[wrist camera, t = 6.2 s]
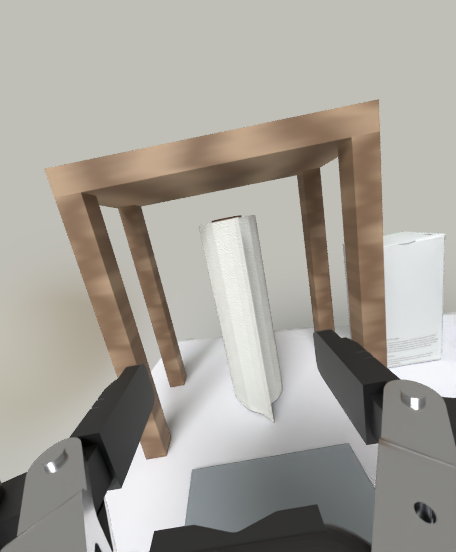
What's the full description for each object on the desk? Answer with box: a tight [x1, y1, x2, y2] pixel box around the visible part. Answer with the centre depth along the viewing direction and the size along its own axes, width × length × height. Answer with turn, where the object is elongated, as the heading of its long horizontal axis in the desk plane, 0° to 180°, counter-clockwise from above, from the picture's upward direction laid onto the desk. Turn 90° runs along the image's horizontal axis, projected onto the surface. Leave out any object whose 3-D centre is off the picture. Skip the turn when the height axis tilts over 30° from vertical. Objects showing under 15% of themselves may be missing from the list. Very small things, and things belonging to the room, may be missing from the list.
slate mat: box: [185, 443, 375, 544], centre depth 16 cm, size 14×8×1 cm, turn 91°
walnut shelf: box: [45, 100, 387, 459], centre depth 24 cm, size 24×12×27 cm, turn 91°
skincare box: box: [343, 232, 446, 368], centre depth 28 cm, size 8×7×16 cm
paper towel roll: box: [199, 215, 282, 422], centre depth 25 cm, size 7×6×21 cm
